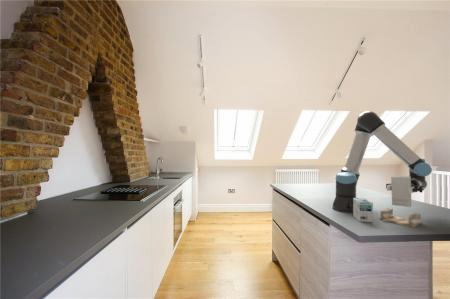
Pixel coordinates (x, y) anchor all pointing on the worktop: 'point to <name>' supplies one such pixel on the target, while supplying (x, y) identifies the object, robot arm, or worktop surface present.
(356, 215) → the light bulb box
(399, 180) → the skincare box
